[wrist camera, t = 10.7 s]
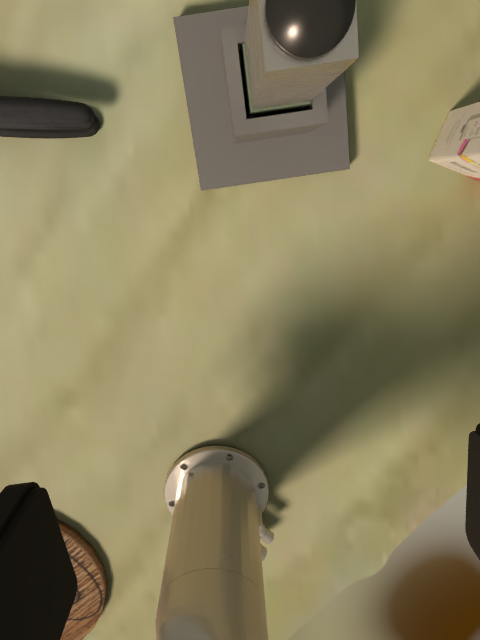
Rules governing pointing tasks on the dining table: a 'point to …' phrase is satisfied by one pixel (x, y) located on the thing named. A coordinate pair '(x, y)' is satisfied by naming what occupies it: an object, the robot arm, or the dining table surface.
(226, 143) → the stand
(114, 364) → the dining table surface
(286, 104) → the column
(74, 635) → the trivet
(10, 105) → the can opener
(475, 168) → the ink cartridge box
